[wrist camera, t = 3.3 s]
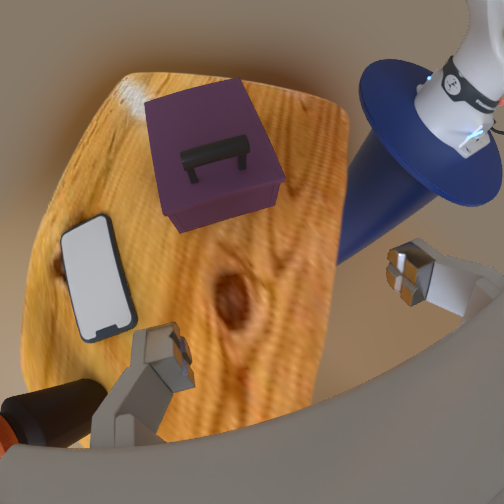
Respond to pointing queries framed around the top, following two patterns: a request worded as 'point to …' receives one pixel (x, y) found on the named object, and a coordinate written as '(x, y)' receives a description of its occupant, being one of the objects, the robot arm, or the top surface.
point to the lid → (208, 146)
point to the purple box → (225, 208)
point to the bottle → (50, 415)
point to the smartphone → (97, 280)
